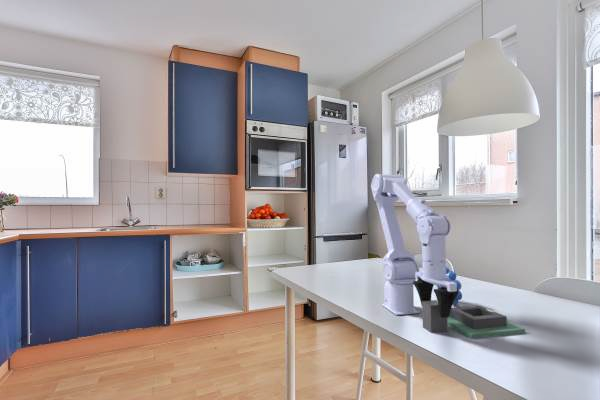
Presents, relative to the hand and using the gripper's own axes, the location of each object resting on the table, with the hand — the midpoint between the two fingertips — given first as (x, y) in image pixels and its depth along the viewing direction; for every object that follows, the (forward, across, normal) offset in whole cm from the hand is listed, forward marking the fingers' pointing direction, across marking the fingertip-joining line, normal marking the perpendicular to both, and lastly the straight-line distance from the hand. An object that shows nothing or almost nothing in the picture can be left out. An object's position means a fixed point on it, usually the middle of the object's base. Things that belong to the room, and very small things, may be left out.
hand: (434, 312), depth 80 cm
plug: (+5, 0, 0) cm, 5 cm away
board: (+4, 0, -13) cm, 14 cm away
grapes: (+5, +18, -17) cm, 25 cm away
